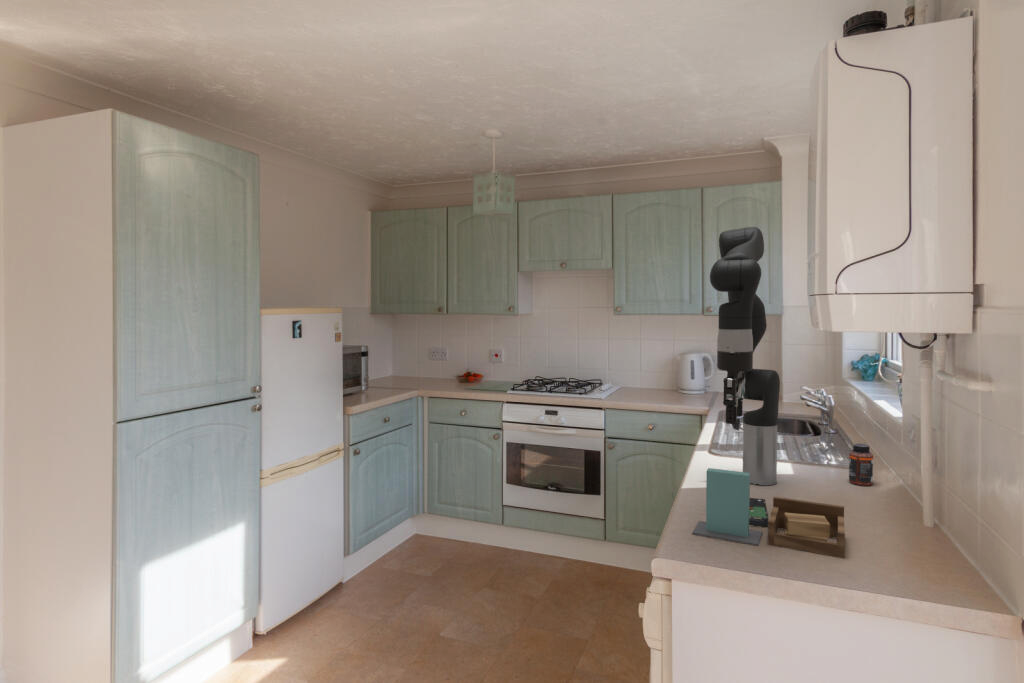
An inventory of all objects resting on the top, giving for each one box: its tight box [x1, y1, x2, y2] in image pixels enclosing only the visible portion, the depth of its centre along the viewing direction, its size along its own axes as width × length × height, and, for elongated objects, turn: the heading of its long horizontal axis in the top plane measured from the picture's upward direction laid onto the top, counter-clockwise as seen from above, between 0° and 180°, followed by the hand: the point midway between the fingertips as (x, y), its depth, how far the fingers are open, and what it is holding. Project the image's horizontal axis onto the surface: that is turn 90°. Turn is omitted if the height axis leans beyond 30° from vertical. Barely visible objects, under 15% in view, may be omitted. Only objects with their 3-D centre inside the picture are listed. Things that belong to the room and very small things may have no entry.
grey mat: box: [691, 520, 763, 547], centre depth 131 cm, size 8×14×1 cm, turn 61°
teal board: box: [705, 467, 751, 537], centre depth 131 cm, size 2×9×14 cm, turn 61°
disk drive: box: [749, 497, 769, 528], centre depth 143 cm, size 10×3×15 cm
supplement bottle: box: [848, 443, 874, 487], centre depth 166 cm, size 6×6×11 cm
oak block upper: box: [784, 513, 831, 539], centre depth 125 cm, size 5×8×3 cm, turn 74°
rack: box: [767, 496, 846, 558], centre depth 127 cm, size 12×14×7 cm
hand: (734, 419), depth 130 cm, fingers open, 8 cm apart
